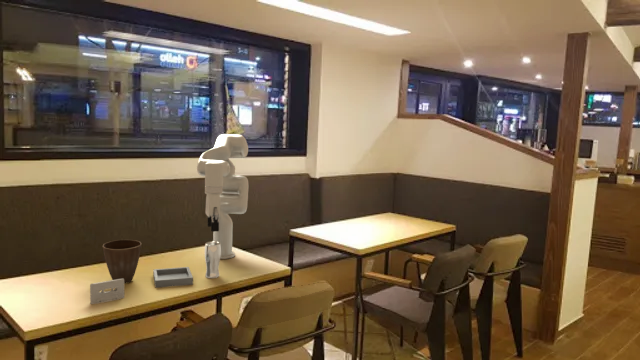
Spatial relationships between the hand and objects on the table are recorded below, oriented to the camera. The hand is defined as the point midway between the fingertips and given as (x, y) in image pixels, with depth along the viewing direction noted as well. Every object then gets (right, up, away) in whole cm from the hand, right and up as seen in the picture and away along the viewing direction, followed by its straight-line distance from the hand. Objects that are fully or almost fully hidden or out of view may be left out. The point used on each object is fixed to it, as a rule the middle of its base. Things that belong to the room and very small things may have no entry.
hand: (213, 228), depth 209 cm
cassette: (-33, -24, -29) cm, 50 cm away
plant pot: (-36, -21, -8) cm, 43 cm away
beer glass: (-1, -22, +3) cm, 22 cm away
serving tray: (-16, -22, -4) cm, 27 cm away
